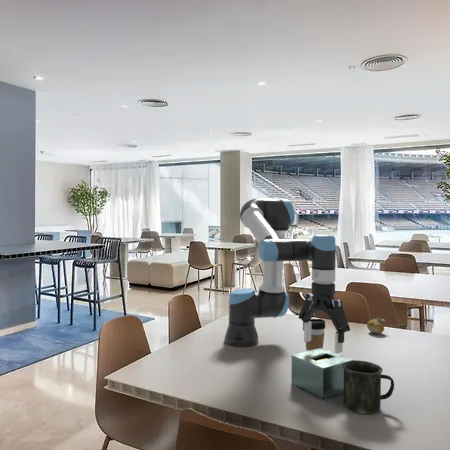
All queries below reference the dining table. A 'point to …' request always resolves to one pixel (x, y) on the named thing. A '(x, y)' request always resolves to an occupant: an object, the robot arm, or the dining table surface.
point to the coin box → (319, 373)
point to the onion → (376, 325)
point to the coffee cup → (316, 334)
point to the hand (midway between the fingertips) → (322, 346)
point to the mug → (364, 386)
